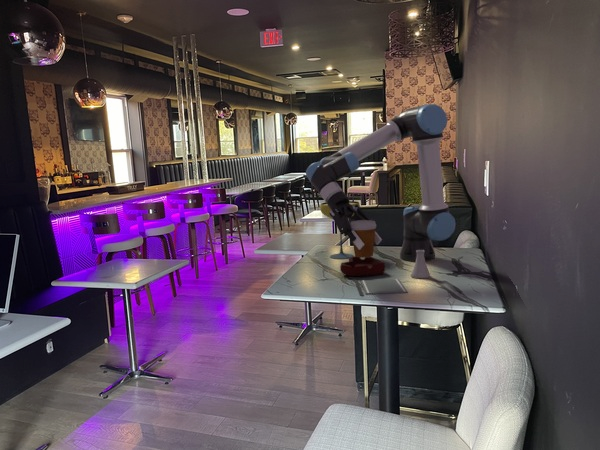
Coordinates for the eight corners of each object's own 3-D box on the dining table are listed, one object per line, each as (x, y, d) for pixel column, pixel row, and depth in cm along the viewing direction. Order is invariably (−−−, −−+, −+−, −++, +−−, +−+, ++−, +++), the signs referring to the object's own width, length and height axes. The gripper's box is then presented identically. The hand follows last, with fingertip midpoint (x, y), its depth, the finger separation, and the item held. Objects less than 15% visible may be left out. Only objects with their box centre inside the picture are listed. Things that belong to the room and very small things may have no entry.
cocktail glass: (367, 254, 217) (366, 201, 213) (350, 262, 202) (348, 205, 198) (333, 251, 226) (331, 200, 223) (315, 259, 211) (312, 204, 208)
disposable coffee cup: (370, 259, 155) (369, 224, 153) (345, 257, 161) (344, 223, 159) (381, 253, 163) (381, 220, 161) (357, 251, 168) (356, 219, 167)
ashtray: (378, 280, 171) (378, 267, 170) (337, 277, 178) (337, 265, 177) (390, 269, 187) (390, 257, 186) (352, 267, 194) (352, 255, 193)
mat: (398, 280, 170) (398, 278, 170) (407, 292, 154) (407, 291, 154) (360, 281, 170) (360, 280, 170) (365, 294, 154) (365, 293, 154)
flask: (431, 274, 176) (430, 248, 174) (429, 279, 169) (429, 252, 168) (411, 273, 178) (411, 248, 177) (409, 278, 171) (409, 252, 170)
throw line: (357, 280, 172) (357, 280, 172) (363, 295, 153) (363, 295, 153) (354, 280, 172) (354, 280, 172) (360, 296, 153) (360, 295, 153)
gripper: (349, 201, 178) (383, 245, 168) (308, 207, 163) (344, 257, 154) (359, 187, 173) (395, 233, 164) (318, 193, 159) (355, 243, 149)
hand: (370, 244), depth 159 cm, fingers closed on disposable coffee cup, 9 cm apart
